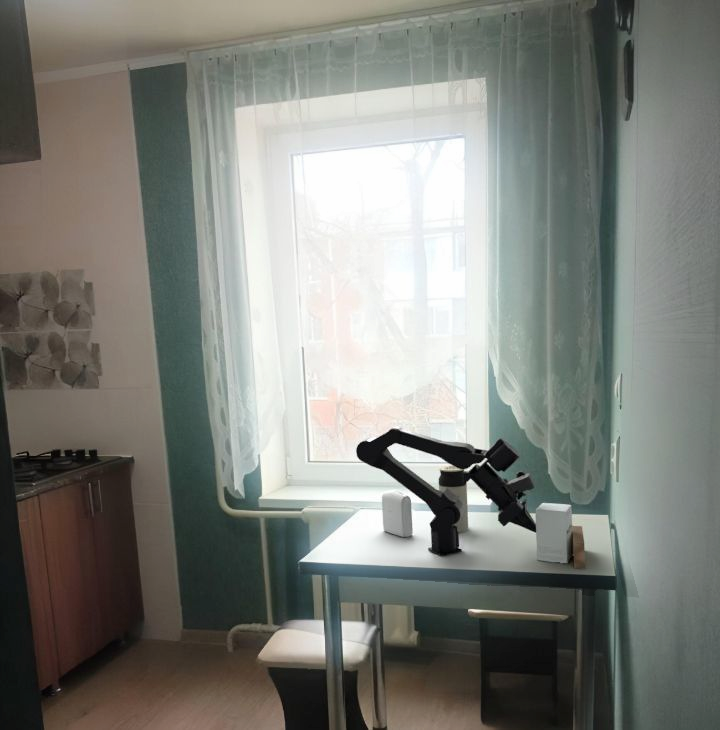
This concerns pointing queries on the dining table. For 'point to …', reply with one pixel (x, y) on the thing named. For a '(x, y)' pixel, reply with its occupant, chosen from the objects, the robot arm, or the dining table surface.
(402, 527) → the photo printer
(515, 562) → the dining table surface
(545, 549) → the supplement box
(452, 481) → the travel mug
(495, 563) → the dining table surface
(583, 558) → the board
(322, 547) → the dining table surface
